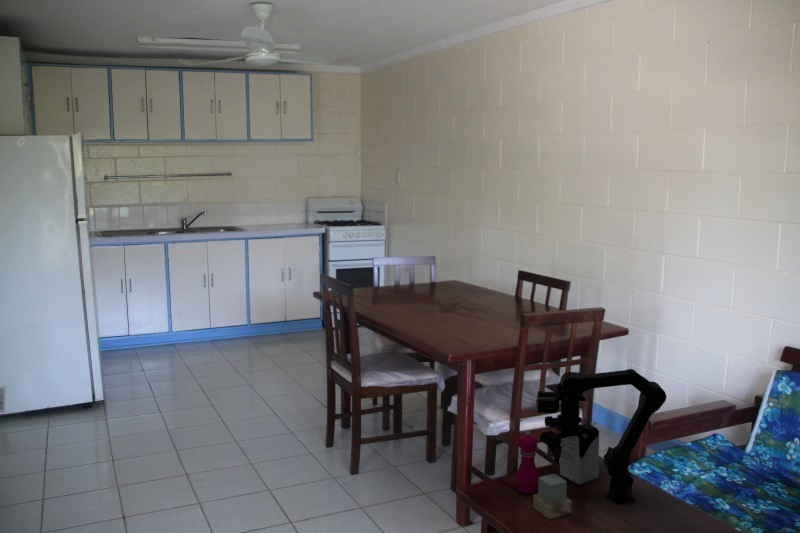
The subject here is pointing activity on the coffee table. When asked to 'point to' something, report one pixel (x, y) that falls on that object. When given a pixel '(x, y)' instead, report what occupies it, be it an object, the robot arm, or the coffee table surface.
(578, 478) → the supplement box
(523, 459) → the pepper mill
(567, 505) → the oak box
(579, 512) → the coffee table surface
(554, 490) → the sage block
